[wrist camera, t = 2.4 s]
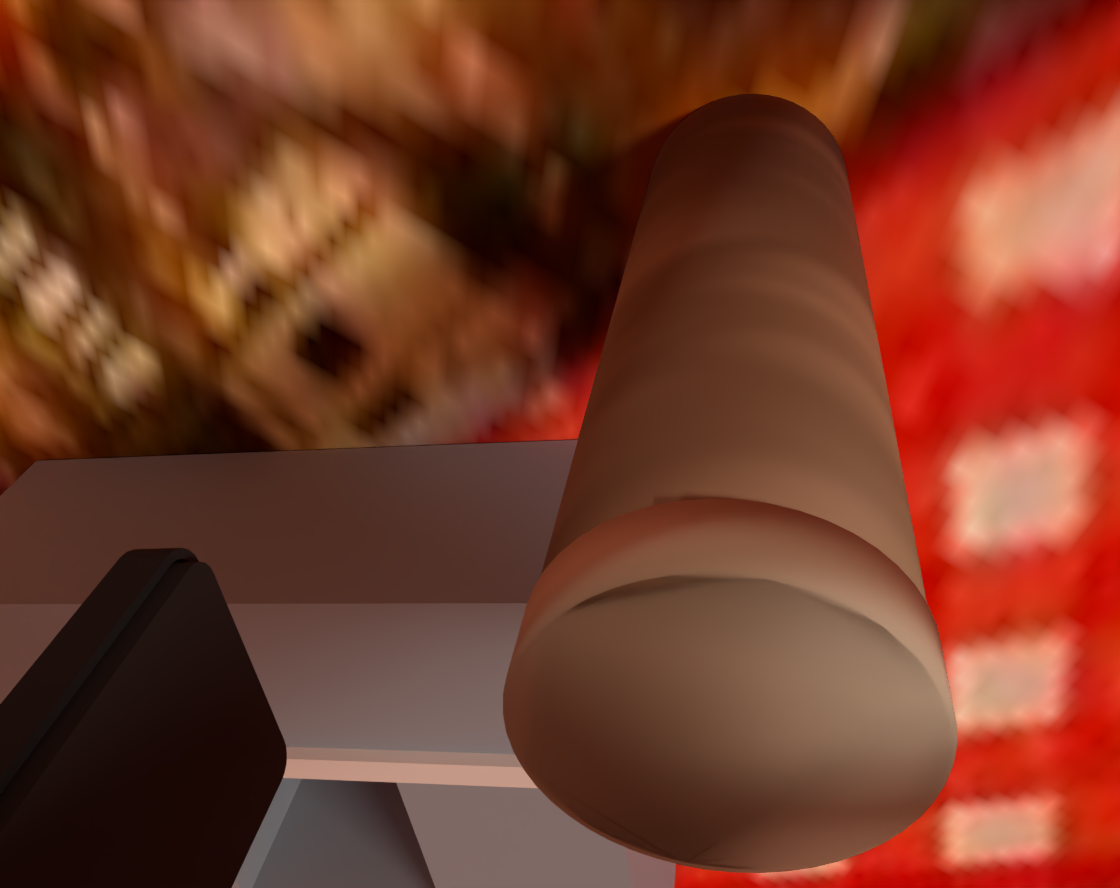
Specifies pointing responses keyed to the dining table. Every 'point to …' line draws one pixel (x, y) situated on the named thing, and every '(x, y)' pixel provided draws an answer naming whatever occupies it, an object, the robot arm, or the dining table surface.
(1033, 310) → the dining table surface
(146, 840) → the robot arm
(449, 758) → the socket block
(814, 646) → the walnut peg
